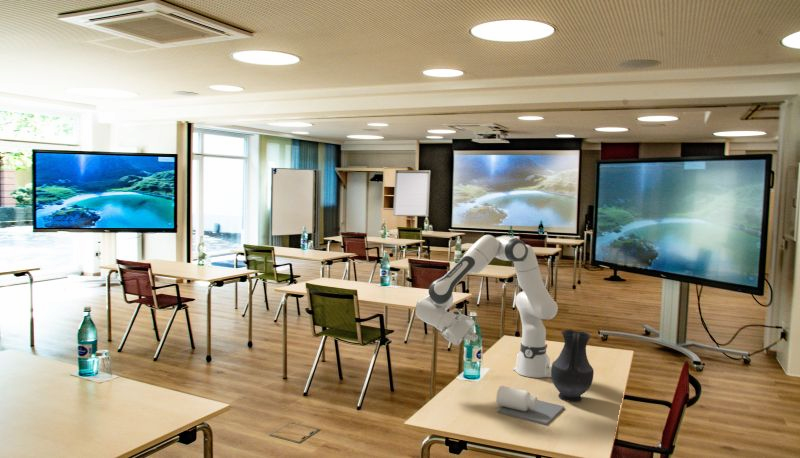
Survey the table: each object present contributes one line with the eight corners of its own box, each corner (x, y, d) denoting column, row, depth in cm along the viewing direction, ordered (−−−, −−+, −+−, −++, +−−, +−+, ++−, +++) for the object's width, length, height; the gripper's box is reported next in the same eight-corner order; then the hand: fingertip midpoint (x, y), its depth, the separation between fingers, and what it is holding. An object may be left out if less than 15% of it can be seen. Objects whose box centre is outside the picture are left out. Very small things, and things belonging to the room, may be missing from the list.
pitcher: (590, 394, 261) (595, 327, 259) (592, 411, 241) (597, 338, 239) (550, 389, 266) (554, 322, 264) (548, 404, 246) (553, 333, 244)
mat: (517, 397, 254) (517, 395, 254) (564, 408, 243) (564, 406, 243) (497, 412, 235) (497, 410, 235) (546, 425, 224) (546, 423, 224)
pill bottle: (502, 401, 245) (537, 410, 237) (495, 407, 238) (531, 417, 231) (503, 382, 244) (539, 390, 237) (496, 388, 237) (533, 397, 230)
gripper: (441, 326, 249) (470, 343, 244) (459, 309, 266) (486, 323, 262) (436, 338, 251) (465, 355, 247) (454, 320, 269) (481, 335, 264)
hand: (476, 338), depth 255 cm, fingers closed
